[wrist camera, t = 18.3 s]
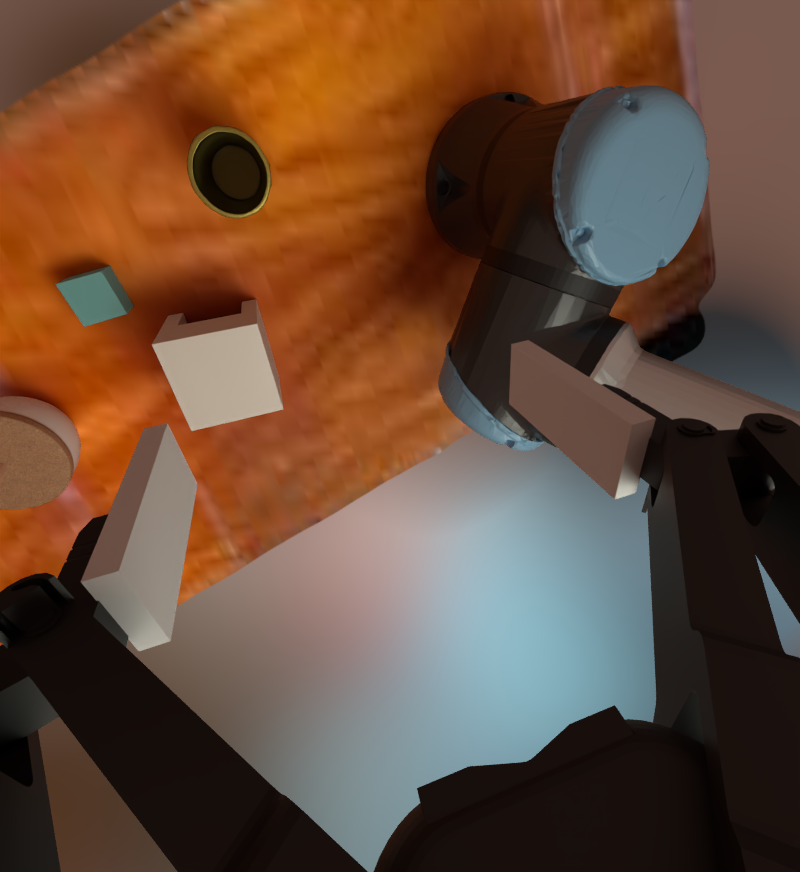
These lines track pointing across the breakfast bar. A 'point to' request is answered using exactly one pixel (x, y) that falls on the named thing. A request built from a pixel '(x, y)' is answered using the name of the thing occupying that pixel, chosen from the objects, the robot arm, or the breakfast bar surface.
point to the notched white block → (220, 367)
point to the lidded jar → (34, 452)
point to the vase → (229, 172)
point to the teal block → (95, 296)
